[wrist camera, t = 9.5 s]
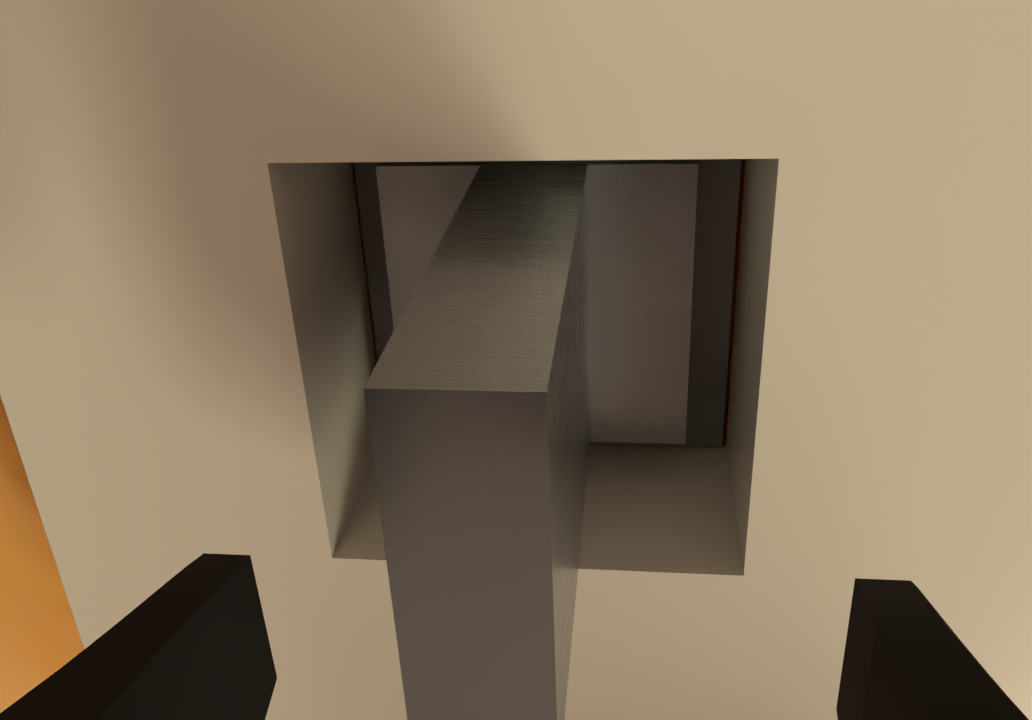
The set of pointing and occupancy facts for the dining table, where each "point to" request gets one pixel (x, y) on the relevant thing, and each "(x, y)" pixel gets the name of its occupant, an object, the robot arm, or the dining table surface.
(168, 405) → the well block
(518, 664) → the tall grey block
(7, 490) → the dining table surface
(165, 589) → the robot arm
